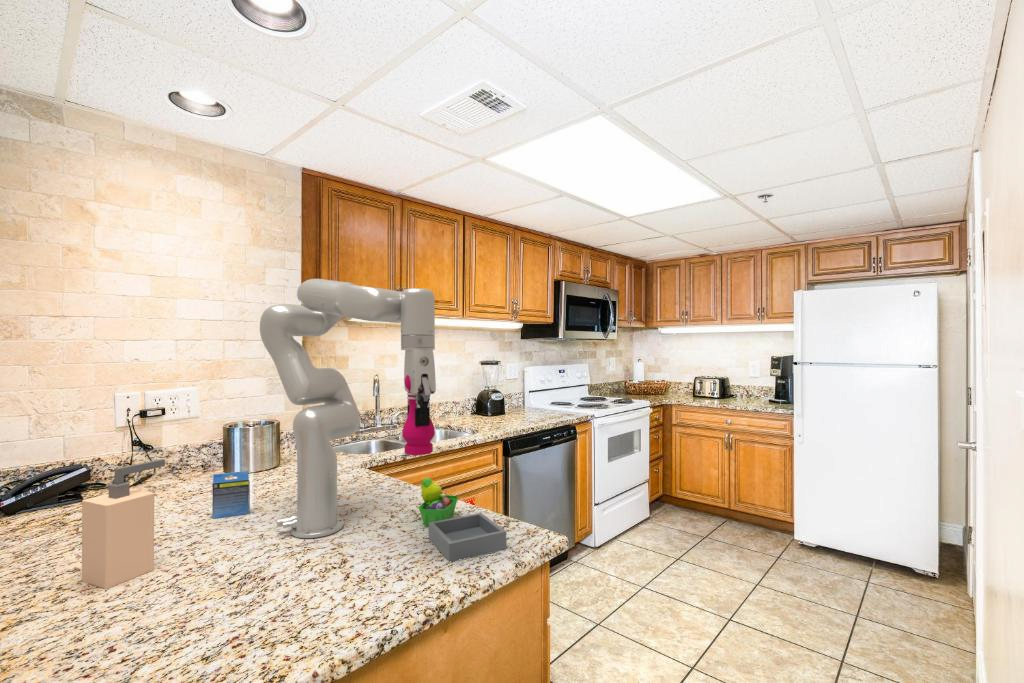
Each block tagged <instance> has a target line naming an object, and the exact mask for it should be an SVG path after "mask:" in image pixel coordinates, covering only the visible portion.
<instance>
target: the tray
mask: <svg viewBox="0 0 1024 683" xmlns="http://www.w3.org/2000/svg"><path fill="white" fill-rule="evenodd" d="M428 541H430V543H431V542H432V543H433V544H434V545H435V546H436V547H437V548H436V547H435V546H434V545H433V544H432V543H431V544H432V545H433V546H434V547H435V548H436V550H438V552H439V551H440V552H441V553H442V554H443V555H444V556H443V555H442V554H441V553H440V552H439V553H440V554H441V555H442V556H443V557H444V558H445V559H446V560H448V561H449V562H448V563H451V562H450V561H454V562H456V561H455V560H458V561H460V560H459V559H462V560H465V559H464V558H466V559H469V558H468V557H470V558H474V557H473V556H475V557H479V556H482V555H481V554H483V555H486V553H487V554H491V553H495V552H494V551H496V552H499V550H500V551H503V549H504V550H507V531H506V530H505V529H504V528H502V527H501V526H500V525H498V524H497V523H496V522H494V521H493V520H492V519H490V518H489V517H488V516H487V515H485V514H483V513H482V512H478V513H473V514H467V515H463V516H462V515H461V516H456V517H451V518H450V519H445V520H440V521H435V522H430V523H429V526H428ZM478 555H479V556H478Z"/></svg>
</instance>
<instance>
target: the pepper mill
mask: <svg viewBox="0 0 1024 683" xmlns="http://www.w3.org/2000/svg"><path fill="white" fill-rule="evenodd" d="M405 387H406V388H407V389H408V391H409V392H407V393H406V395H407V396H406V399H407V400H408V399H409V414H408V413H407V417H406V420H405V421H404V424H403V427H402V433H401V436H402V438H403V439H404V441H405V443H406V444H404V451H403V452H404V454H405V455H406V456H407V455H408V456H424V455H429V454H432V453H433V450H434V448H433V447H434V446H433V445H434V444H433V443H432V442H431V441H432V440H433V438H434V437H435V433H436V431H435V426H434V425H435V424H434V423H433V421H432V419H431V417H430V425H429V426H419V427H416V426H415V408H416V398H415V395H414V394H412V393H410V390H411V382H410V378H409V376H408V375H407V376H406V378H405ZM405 387H404V388H405ZM418 393H423V391H419V392H418ZM420 398H421V397H419V400H420Z"/></svg>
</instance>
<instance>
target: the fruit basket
mask: <svg viewBox="0 0 1024 683" xmlns="http://www.w3.org/2000/svg"><path fill="white" fill-rule="evenodd" d="M420 489H421V491H420V492H421V498H422V500H423V502H422V504H420V505H419V506H418V510H419V512H420V515H421V520H422V522H423V523H422V524H423V525H426V526H425V527H429V523H430V522H435V521H440V520H445V519H451V518H453V516H454V513H455V510H456V509H455V508H456V505H457V501H458V499H459V496H458V495H453V494H452V495H449V494H448V495H447V494H441V493H442V492H443V490H442V487H441V486H440V485H439V483H436V482H435V480H433V479H431V478H430V477H427V478H423V479H422V481H421V485H420ZM427 525H428V526H427Z"/></svg>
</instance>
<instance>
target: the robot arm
mask: <svg viewBox="0 0 1024 683" xmlns="http://www.w3.org/2000/svg"><path fill="white" fill-rule="evenodd" d="M296 296H297V299H298V301H299V304H292V303H291V304H290V303H289V304H288V303H284V304H283V303H282V304H273V305H270V306H269V307H267V308H265V310H263V313H262V315H261V316H260V321H259V333H260V339H261V341H262V343H263V345H264V347H265V349H266V351H267V352H268V354H269V356H270V358H271V359H272V361H273V362H274V365H275V368H276V371H277V373H278V375H279V378H280V381H281V384H282V386H283V389H284V392H285V395H286V396H287V398H288V400H289V401H290V403H292V404H293V405H296V406H308V407H306V408H303V409H301V410H300V411H298V412H297V414H296V415H295V417H294V419H293V422H292V430H293V437H294V440H295V447H296V465H297V466H296V470H297V473H296V474H297V478H296V479H297V480H296V483H297V486H296V487H297V488H296V489H297V490H296V491H297V497H296V498H297V500H296V504H297V506H296V508H297V509H296V511H295V512H294V514H292V515H290V516H289V517H288V516H287V517H279V518H277V520H276V525H277V526H276V527H277V528H278V527H282V528H283V529H285V528H289V527H290V531H289V532H290V534H291V535H292V536H293V537H295V538H300V539H316V538H322V537H325V536H331V535H333V534H335V533H337V532H339V531H340V530H342V528H343V527H344V523H345V522H344V520H343V518H341V517H339V516H338V457H337V456H338V455H337V453H336V451H335V449H334V448H333V446H332V444H331V441H334V440H338V439H343V438H347V437H350V436H353V435H354V434H356V432H358V430H359V429H360V425H361V417H360V412H359V409H358V407H357V404H356V402H355V398H354V397H353V394H352V392H351V389H350V388H349V385H348V383H347V380H346V379H345V377H344V375H343V374H342V373H341V372H340V371H339V370H337V369H334V368H332V367H331V368H329V367H327V368H326V367H325V368H321V367H320V368H317V367H316V366H314V365H313V362H312V360H311V358H310V356H309V353H308V352H307V350H306V349H305V347H304V346H303V345H302V344H301V343H299V342H298V341H297V340H296V339H295V338H294V337H313V338H314V337H316V338H317V337H322V336H323V335H325V334H327V333H328V332H329V331H330V330H331V329H332V328H333V327H335V325H336V324H337V323H338V322H339V321H340V320H342V319H343V318H344V317H345V318H350V319H355V320H356V319H357V320H362V321H366V322H367V321H368V322H378V323H379V322H380V323H381V322H382V323H393V324H394V323H395V324H400V350H401V351H404V364H403V365H404V366H403V368H404V369H403V384H404V386H403V387H404V390H405V392H407V393H408V392H409V391H408V389H407V388H406V387H405V378H406V376H407V375H408V376H409V378H410V382H411V390H410V393H412V394H414V395H415V398H416V408H415V426H416V427H419V426H429V425H430V418H431V417H430V414H431V407H430V406H431V404H430V403H431V402H430V401H431V398H430V397H431V395H434V394H435V393H436V392H437V386H436V385H437V384H436V382H437V381H436V364H435V363H436V362H435V355H434V351H435V350H436V348H435V347H436V345H435V344H436V342H435V341H436V336H435V335H436V334H435V333H436V332H435V330H436V325H435V324H436V322H435V320H436V319H435V313H436V312H435V307H436V306H435V304H436V303H435V301H436V300H435V294H434V292H433V291H432V290H431V289H428V288H420V287H419V288H418V287H416V288H415V287H414V288H406V289H404V290H403V291H400V290H394V289H393V290H392V289H385V288H380V287H373V286H366V285H365V286H363V285H357V284H355V283H353V282H347V281H340V280H339V281H338V280H332V279H323V278H310V279H307V280H305V281H303V282H302V283H301V284H300V285H299V286H298V288H297V291H296ZM419 391H423V393H418V392H419ZM419 397H421V398H420V400H419ZM318 404H320V405H318ZM309 405H313V406H309ZM408 414H409V399H407V415H408Z"/></svg>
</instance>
